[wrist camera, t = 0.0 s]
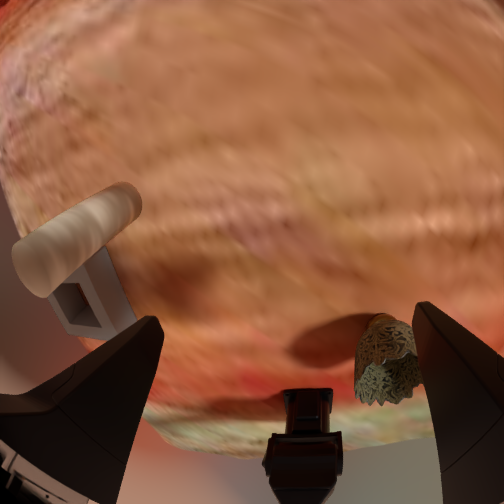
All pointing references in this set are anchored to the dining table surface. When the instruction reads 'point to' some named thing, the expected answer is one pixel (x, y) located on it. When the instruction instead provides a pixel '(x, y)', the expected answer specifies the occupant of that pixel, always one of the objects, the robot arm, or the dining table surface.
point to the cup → (386, 362)
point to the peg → (73, 237)
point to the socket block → (93, 300)
